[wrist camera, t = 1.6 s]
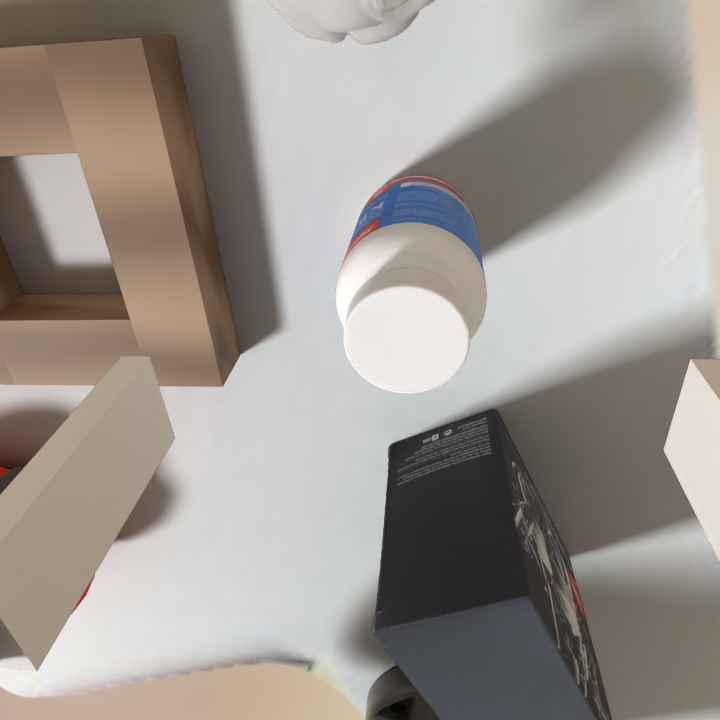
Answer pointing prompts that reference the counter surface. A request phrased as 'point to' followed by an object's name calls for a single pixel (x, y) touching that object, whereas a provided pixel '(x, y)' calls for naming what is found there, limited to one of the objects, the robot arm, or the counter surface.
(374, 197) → the pill bottle
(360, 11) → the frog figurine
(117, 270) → the walnut holder block
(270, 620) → the counter surface
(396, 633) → the small box
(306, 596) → the counter surface
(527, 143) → the counter surface
